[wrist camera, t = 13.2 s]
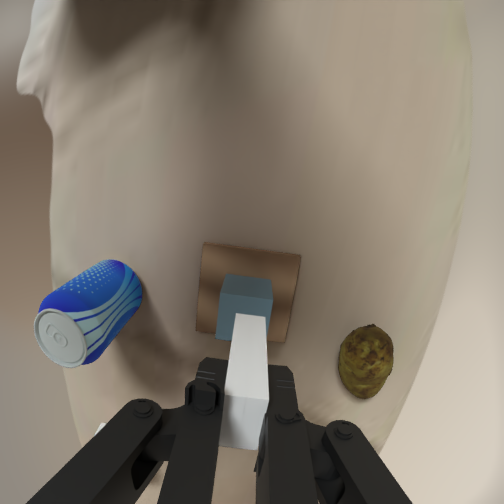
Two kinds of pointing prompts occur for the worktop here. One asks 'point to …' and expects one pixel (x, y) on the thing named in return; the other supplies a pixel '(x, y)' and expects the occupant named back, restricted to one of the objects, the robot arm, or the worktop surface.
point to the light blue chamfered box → (242, 302)
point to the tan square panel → (251, 265)
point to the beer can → (87, 313)
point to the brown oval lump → (365, 360)
